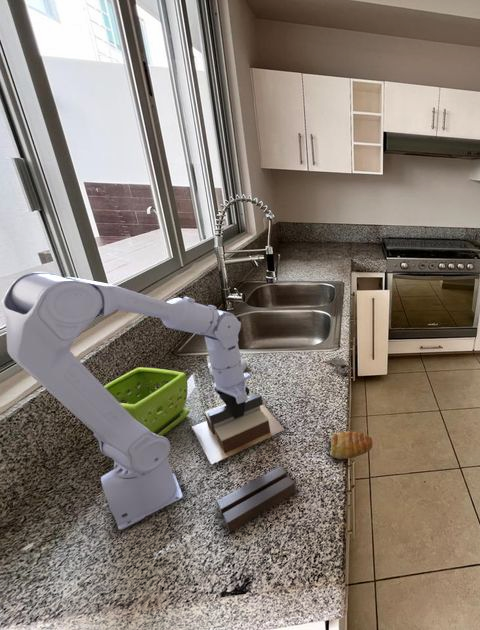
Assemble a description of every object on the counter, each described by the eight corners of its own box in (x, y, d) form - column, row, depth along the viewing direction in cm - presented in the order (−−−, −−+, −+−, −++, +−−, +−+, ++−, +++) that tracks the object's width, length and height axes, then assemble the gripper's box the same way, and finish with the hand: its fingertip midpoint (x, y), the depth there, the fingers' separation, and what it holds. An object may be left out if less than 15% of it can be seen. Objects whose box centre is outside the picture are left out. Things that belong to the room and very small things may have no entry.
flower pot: (153, 407, 89) (139, 365, 85) (199, 415, 87) (188, 372, 82) (96, 445, 77) (77, 398, 72) (149, 455, 74) (133, 407, 70)
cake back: (213, 434, 80) (209, 421, 78) (207, 425, 83) (204, 411, 81) (257, 416, 86) (254, 403, 85) (250, 407, 90) (248, 394, 88)
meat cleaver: (343, 358, 116) (328, 361, 115) (343, 355, 116) (328, 357, 114) (349, 375, 106) (332, 378, 104) (348, 371, 105) (332, 374, 104)
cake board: (211, 466, 72) (211, 464, 72) (191, 428, 83) (191, 426, 82) (285, 431, 83) (285, 429, 82) (259, 401, 93) (259, 399, 93)
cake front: (224, 453, 75) (221, 439, 73) (218, 442, 78) (214, 428, 76) (270, 432, 81) (268, 418, 80) (262, 422, 84) (260, 409, 83)
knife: (216, 443, 77) (209, 416, 74) (213, 439, 78) (207, 412, 75) (265, 421, 84) (261, 396, 81) (262, 418, 85) (258, 393, 82)
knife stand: (229, 533, 59) (227, 523, 58) (218, 510, 63) (216, 500, 62) (296, 492, 67) (294, 483, 66) (282, 474, 71) (281, 465, 70)
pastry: (371, 436, 82) (371, 423, 80) (373, 457, 76) (373, 444, 74) (331, 440, 80) (330, 427, 79) (329, 463, 74) (328, 449, 72)
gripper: (258, 369, 72) (267, 421, 77) (234, 345, 81) (244, 393, 86) (221, 382, 67) (233, 436, 72) (200, 355, 77) (213, 405, 82)
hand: (237, 414), depth 79 cm, fingers closed on knife, 1 cm apart
